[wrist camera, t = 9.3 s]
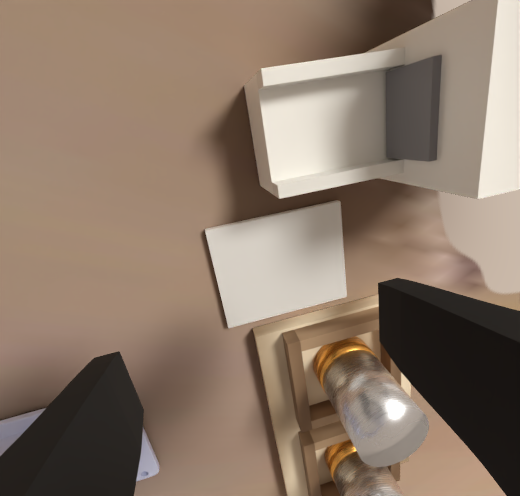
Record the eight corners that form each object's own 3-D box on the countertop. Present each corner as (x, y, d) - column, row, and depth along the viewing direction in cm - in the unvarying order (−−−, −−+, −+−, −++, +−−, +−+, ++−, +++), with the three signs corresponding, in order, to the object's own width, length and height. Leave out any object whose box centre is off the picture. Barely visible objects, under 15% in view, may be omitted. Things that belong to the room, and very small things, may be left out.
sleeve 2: (326, 474, 25) (365, 570, 20) (322, 440, 24) (362, 533, 18) (372, 458, 26) (422, 546, 20) (370, 424, 24) (424, 509, 19)
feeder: (261, 194, 17) (315, 237, 10) (241, 74, 15) (292, 11, 8) (434, 158, 19) (594, 172, 11) (440, 44, 16) (643, -32, 9)
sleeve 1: (317, 391, 22) (361, 477, 16) (308, 346, 20) (353, 424, 15) (370, 372, 22) (429, 450, 17) (365, 327, 21) (429, 396, 15)
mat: (227, 324, 19) (228, 328, 19) (204, 228, 17) (205, 231, 17) (343, 293, 21) (346, 296, 20) (337, 200, 18) (340, 201, 18)
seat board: (285, 490, 26) (294, 520, 24) (252, 328, 20) (259, 349, 18) (401, 450, 28) (417, 475, 26) (403, 287, 21) (425, 303, 19)
